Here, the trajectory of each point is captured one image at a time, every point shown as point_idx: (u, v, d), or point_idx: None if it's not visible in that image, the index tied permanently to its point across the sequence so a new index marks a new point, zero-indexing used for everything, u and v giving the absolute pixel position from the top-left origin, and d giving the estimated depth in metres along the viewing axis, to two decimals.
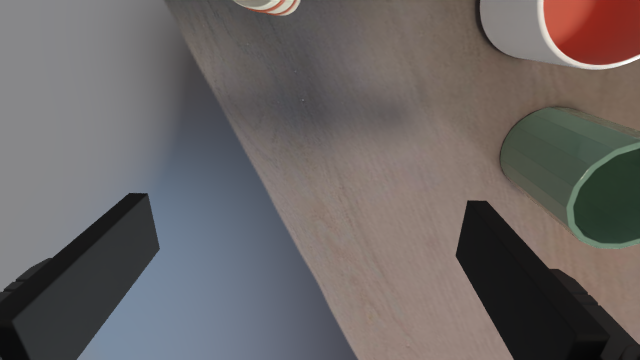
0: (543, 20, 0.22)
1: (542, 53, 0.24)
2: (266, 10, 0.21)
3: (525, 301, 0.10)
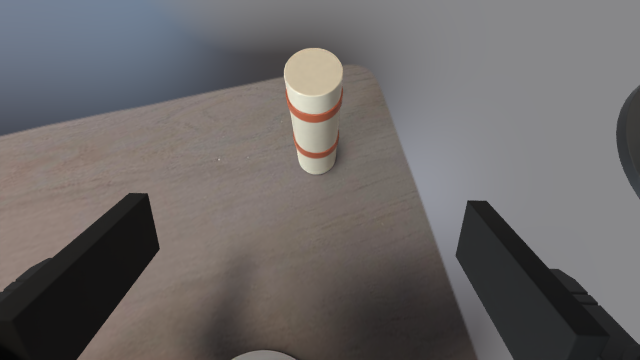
0: None
1: None
2: (286, 92, 0.23)
3: (525, 301, 0.10)
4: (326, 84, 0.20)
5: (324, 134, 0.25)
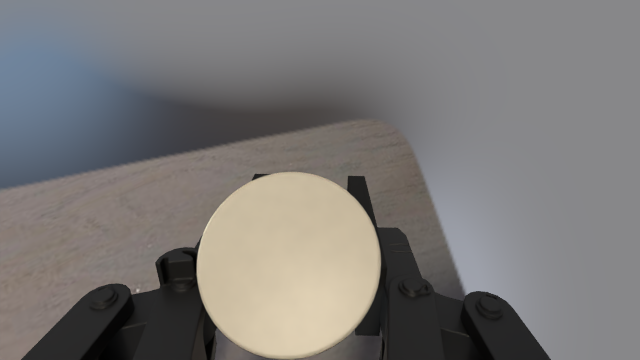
0: None
1: None
2: None
3: None
4: (328, 310, 0.06)
5: None
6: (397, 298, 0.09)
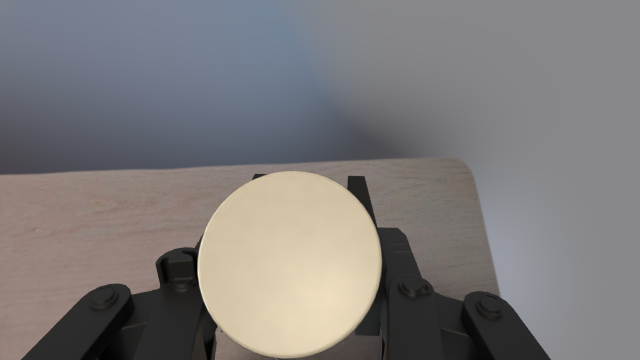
0: None
1: None
2: None
3: None
4: (329, 309, 0.06)
5: None
6: (397, 298, 0.09)
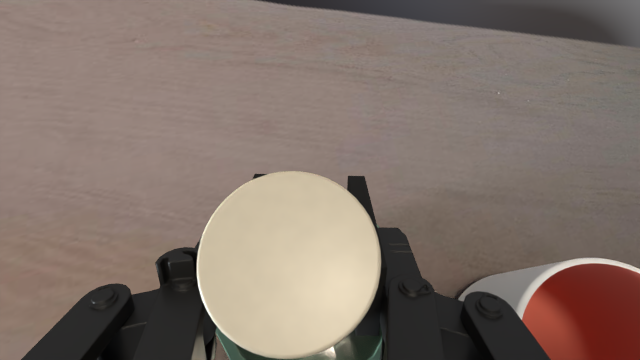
0: (604, 264, 0.17)
1: (537, 268, 0.19)
2: None
3: None
4: (329, 309, 0.06)
5: None
6: (397, 298, 0.09)
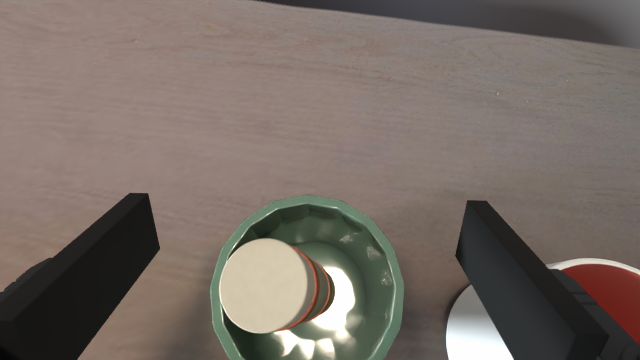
0: (602, 264, 0.17)
1: None
2: None
3: (524, 300, 0.10)
4: (278, 311, 0.13)
5: None
6: None
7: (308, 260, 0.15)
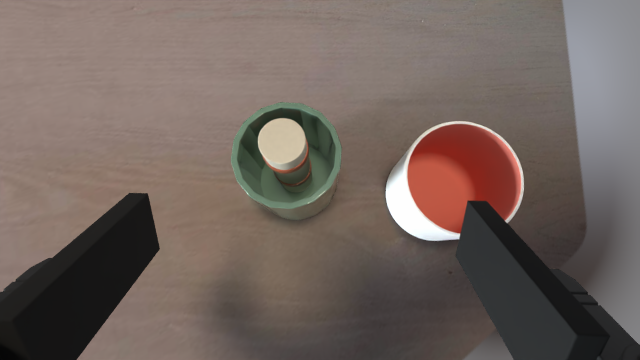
0: (459, 124, 0.29)
1: None
2: None
3: (525, 301, 0.10)
4: (292, 152, 0.25)
5: (296, 176, 0.30)
6: None
7: None
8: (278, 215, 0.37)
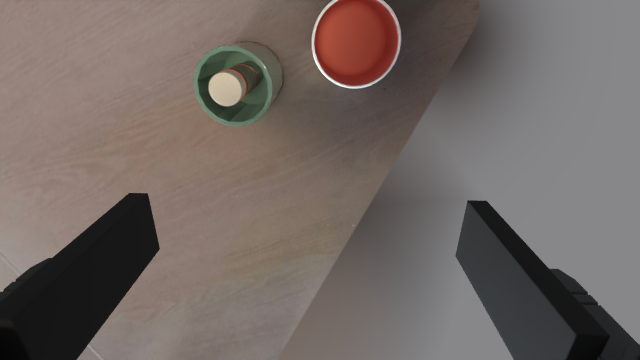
0: (339, 0, 0.36)
1: None
2: None
3: (525, 301, 0.10)
4: (235, 94, 0.37)
5: (248, 92, 0.42)
6: None
7: (234, 70, 0.38)
8: None
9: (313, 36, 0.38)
